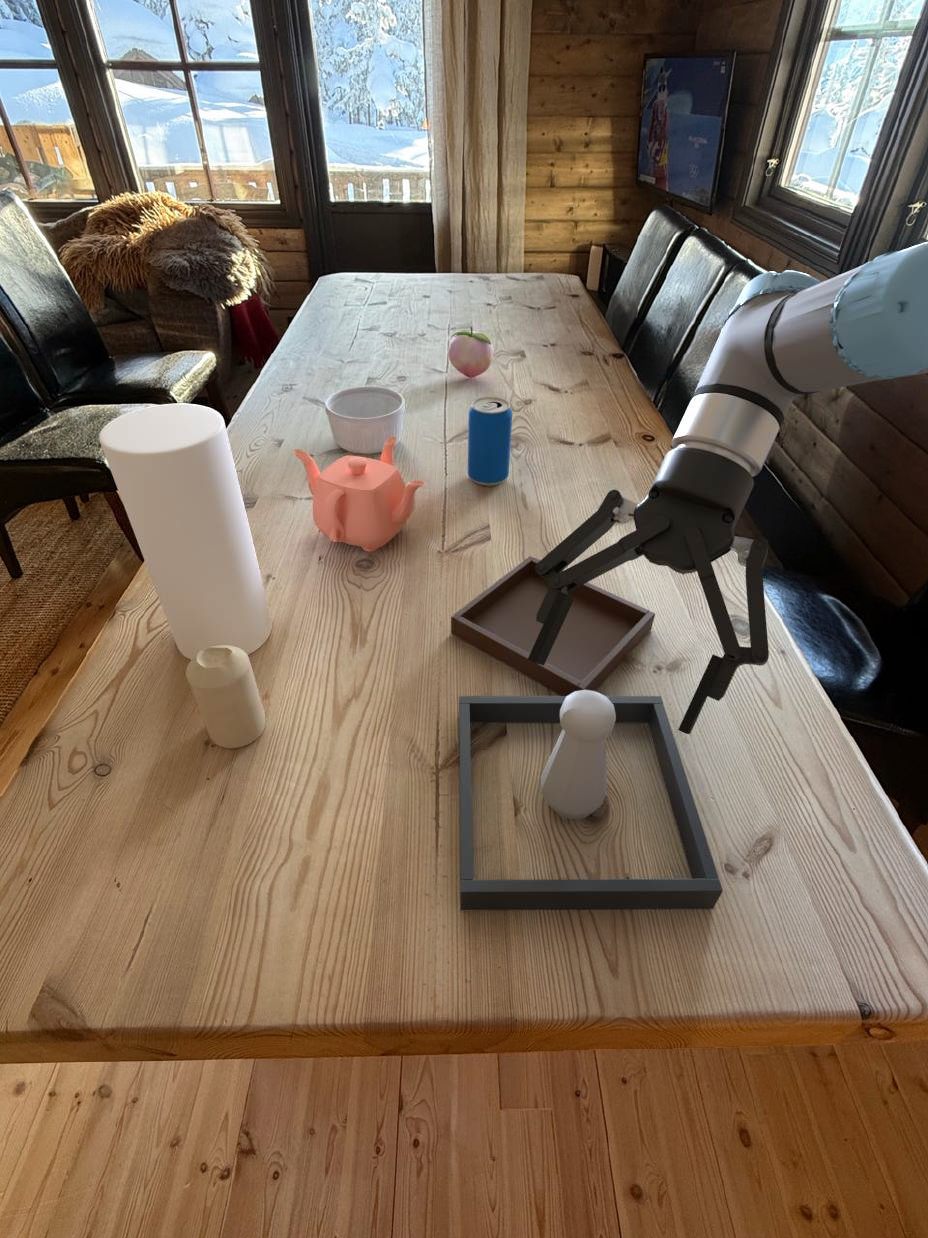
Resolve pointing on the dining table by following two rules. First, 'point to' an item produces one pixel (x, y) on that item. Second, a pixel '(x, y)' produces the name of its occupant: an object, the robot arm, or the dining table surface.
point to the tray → (584, 643)
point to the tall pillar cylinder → (190, 524)
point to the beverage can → (489, 440)
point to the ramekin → (365, 418)
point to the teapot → (360, 498)
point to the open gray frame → (587, 891)
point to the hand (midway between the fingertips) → (605, 696)
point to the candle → (227, 695)
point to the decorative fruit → (470, 352)
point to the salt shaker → (579, 756)
